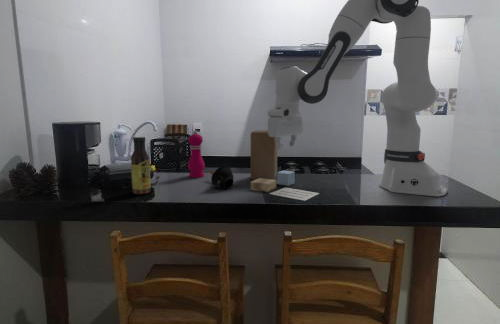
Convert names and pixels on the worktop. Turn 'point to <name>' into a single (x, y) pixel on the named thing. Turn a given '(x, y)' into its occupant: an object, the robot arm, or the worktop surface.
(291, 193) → the recipe card
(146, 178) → the sauce bottle
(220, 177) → the black rounded dome
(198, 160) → the pepper mill
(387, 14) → the robot arm
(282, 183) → the blue cube
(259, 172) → the block
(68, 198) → the worktop surface
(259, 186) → the oak block
